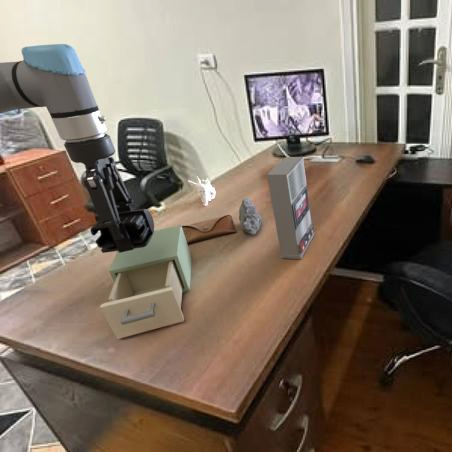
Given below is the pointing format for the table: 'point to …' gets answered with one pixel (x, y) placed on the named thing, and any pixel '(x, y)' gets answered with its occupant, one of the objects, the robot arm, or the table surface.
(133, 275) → the drawer
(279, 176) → the cassette tape recorder
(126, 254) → the cabinet
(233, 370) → the table surface
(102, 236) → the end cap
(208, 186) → the white figurine
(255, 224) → the mineral rock
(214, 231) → the sunglasses case
